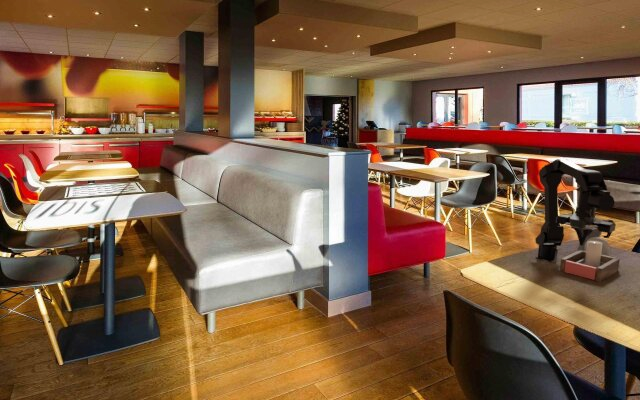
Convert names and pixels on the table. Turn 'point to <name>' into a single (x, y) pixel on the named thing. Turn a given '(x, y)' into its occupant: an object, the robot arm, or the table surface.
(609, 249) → the donut
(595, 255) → the canister
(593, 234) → the coffeepot
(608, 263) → the slot
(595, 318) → the table surface
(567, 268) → the tray
